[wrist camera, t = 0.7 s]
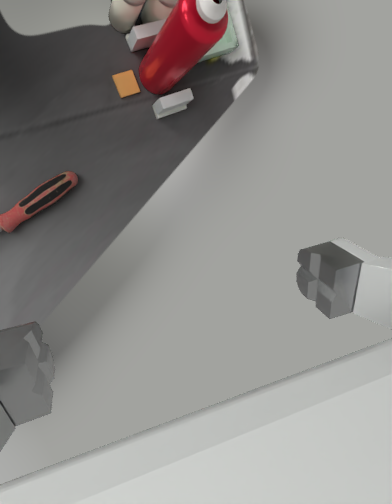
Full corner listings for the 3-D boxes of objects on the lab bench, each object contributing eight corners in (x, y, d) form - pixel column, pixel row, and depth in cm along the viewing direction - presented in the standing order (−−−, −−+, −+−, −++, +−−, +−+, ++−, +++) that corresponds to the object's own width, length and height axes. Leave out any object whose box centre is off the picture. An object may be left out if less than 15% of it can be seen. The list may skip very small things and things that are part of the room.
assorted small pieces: (84, 9, 42) (89, -31, 35) (209, -19, 48) (236, -58, 41) (133, 127, 47) (146, 114, 40) (241, 89, 53) (270, 71, 46)
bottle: (179, 86, 49) (251, 20, 31) (149, 100, 47) (205, 38, 29) (163, 49, 47) (229, -45, 29) (132, 62, 46) (179, -29, 27)
